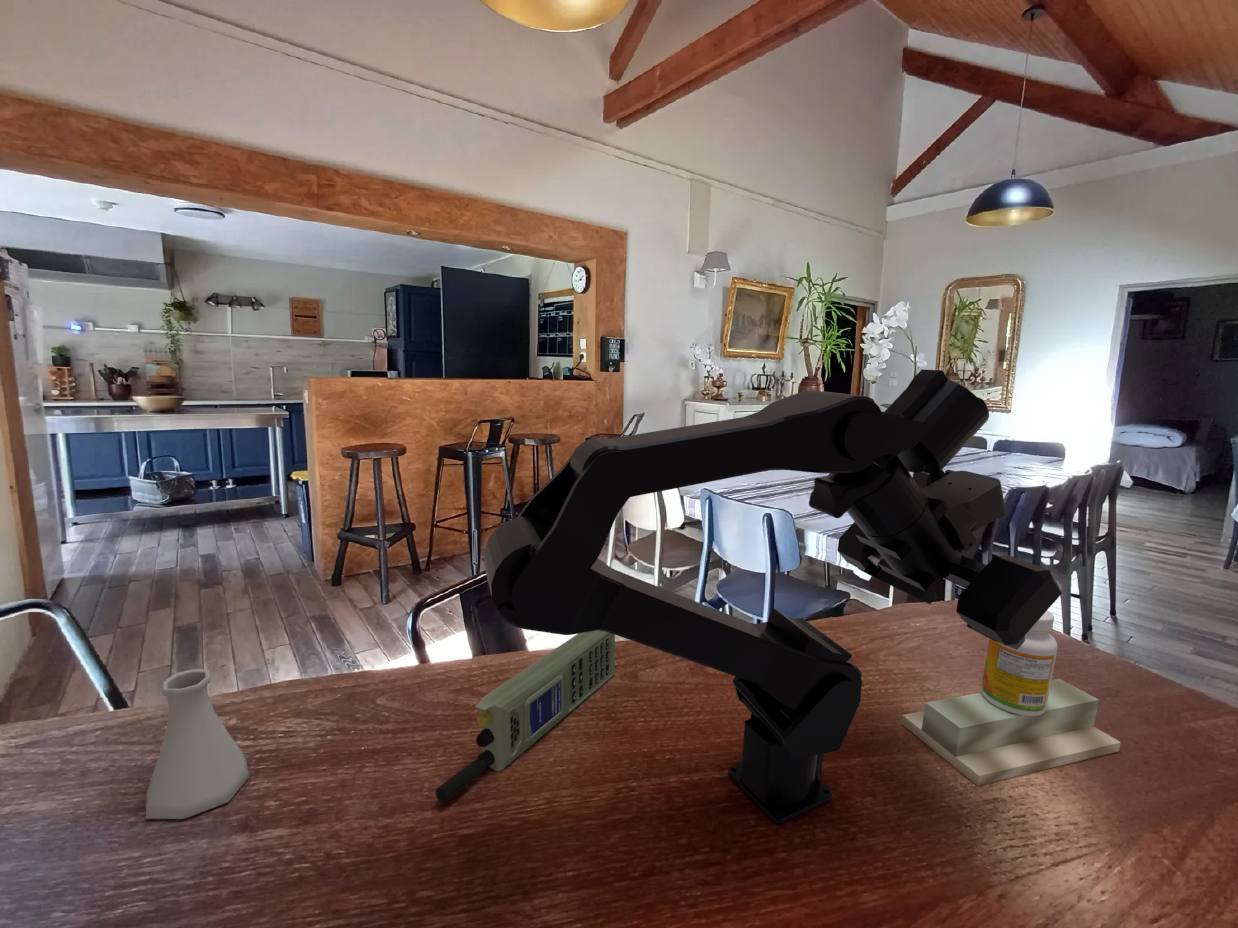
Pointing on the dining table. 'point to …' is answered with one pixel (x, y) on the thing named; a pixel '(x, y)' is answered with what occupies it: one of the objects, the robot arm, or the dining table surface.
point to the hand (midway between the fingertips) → (972, 620)
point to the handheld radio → (536, 703)
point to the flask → (193, 753)
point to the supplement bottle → (1022, 671)
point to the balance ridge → (1011, 734)
